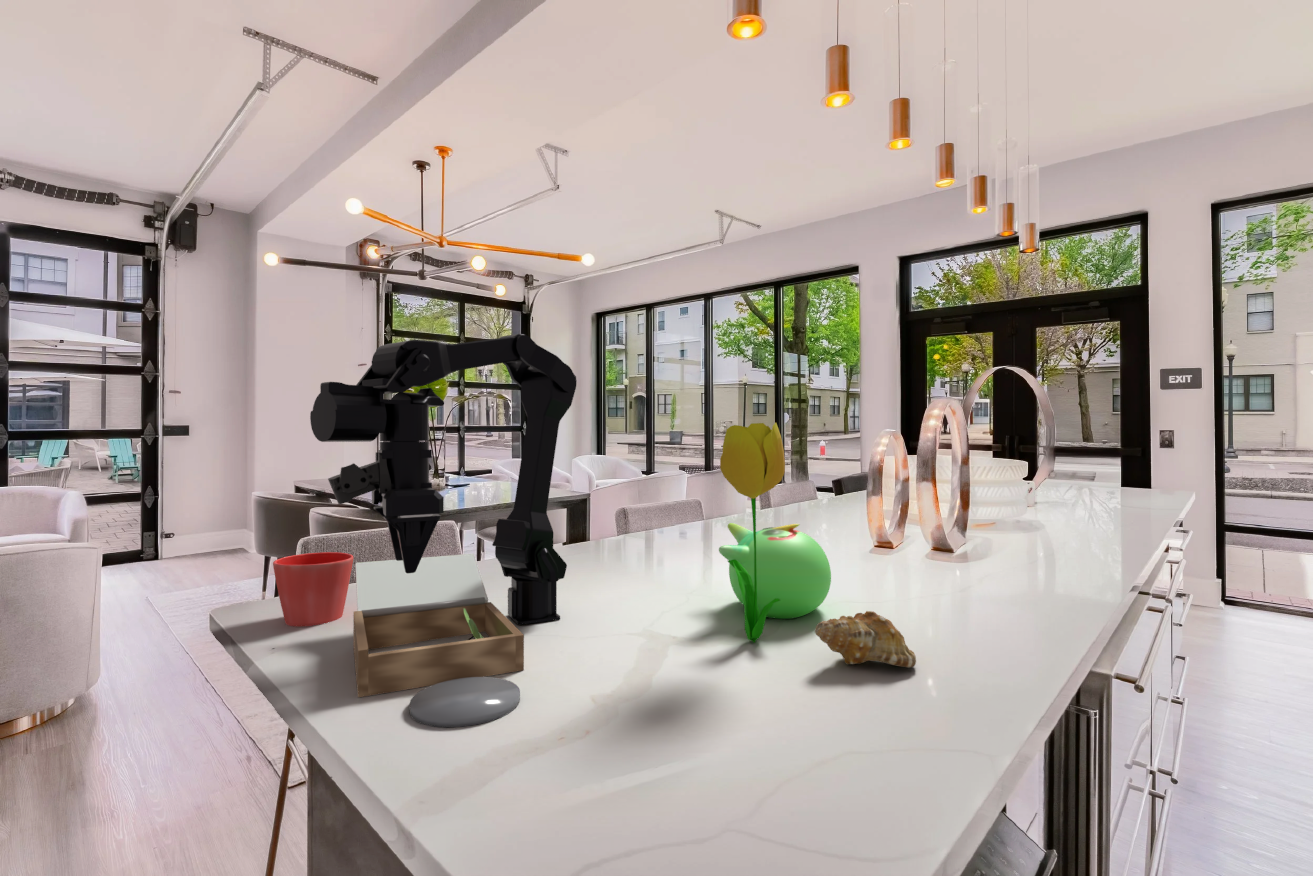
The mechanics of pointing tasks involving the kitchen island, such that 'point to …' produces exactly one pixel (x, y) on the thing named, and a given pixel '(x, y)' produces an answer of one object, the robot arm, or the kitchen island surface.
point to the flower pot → (313, 586)
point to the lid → (418, 585)
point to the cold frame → (433, 648)
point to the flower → (752, 497)
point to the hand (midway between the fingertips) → (405, 566)
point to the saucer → (464, 701)
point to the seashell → (866, 639)
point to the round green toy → (781, 569)
